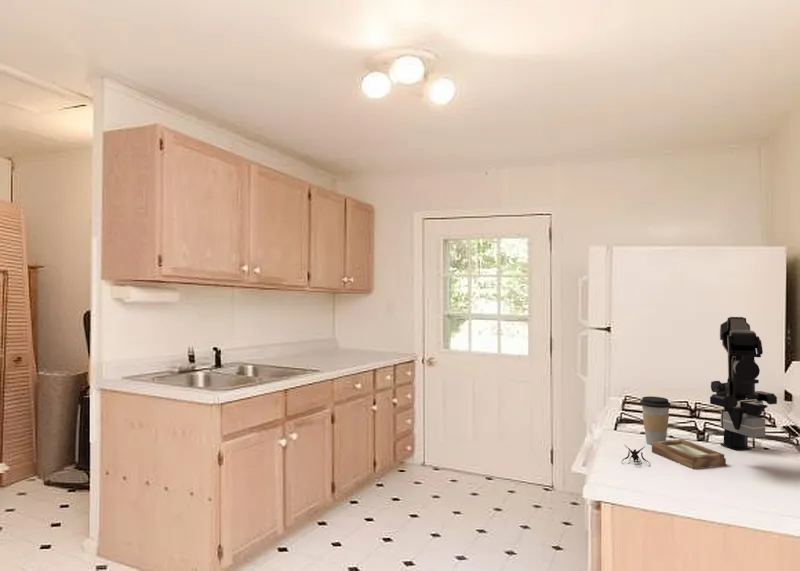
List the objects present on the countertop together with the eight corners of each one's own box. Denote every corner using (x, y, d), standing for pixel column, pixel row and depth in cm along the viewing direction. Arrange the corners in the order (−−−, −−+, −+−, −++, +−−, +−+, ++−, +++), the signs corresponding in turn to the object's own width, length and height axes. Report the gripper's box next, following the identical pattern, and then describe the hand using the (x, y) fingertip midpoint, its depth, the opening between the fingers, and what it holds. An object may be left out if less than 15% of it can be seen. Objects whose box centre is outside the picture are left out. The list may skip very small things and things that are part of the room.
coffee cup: (674, 448, 176) (674, 402, 176) (643, 446, 178) (643, 401, 178) (666, 440, 185) (666, 396, 185) (637, 438, 187) (637, 395, 187)
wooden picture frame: (682, 448, 175) (682, 439, 175) (725, 465, 159) (725, 454, 159) (651, 452, 172) (651, 442, 172) (692, 468, 156) (692, 457, 156)
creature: (651, 473, 156) (648, 458, 164) (651, 456, 155) (648, 442, 163) (622, 470, 159) (620, 456, 166) (622, 453, 158) (620, 440, 165)
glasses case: (734, 427, 162) (734, 410, 162) (765, 436, 152) (765, 418, 152) (722, 428, 161) (722, 411, 161) (752, 437, 151) (752, 419, 151)
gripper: (744, 369, 167) (744, 420, 167) (694, 372, 162) (695, 424, 162) (778, 375, 156) (778, 429, 156) (726, 378, 151) (726, 434, 151)
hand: (743, 428), depth 157 cm, fingers closed on glasses case, 4 cm apart
